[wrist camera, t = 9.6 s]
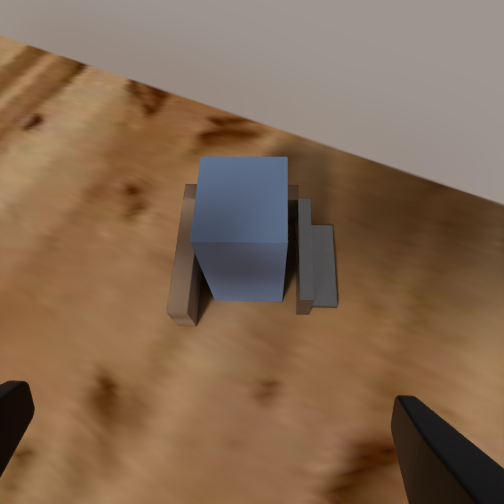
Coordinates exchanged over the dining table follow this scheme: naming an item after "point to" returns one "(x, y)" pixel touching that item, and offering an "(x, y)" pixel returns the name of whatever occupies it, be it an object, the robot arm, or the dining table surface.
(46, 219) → the dining table surface
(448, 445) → the robot arm
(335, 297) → the bookend
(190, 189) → the rack
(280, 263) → the book
